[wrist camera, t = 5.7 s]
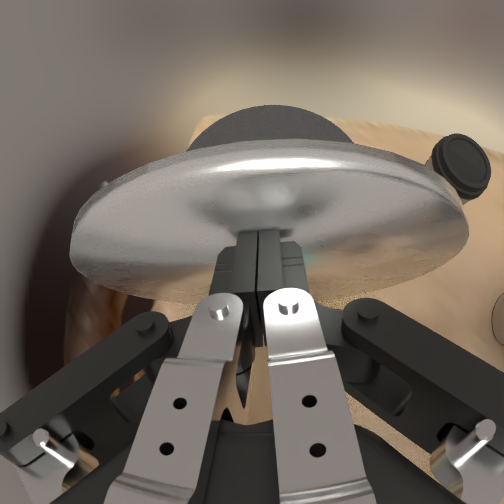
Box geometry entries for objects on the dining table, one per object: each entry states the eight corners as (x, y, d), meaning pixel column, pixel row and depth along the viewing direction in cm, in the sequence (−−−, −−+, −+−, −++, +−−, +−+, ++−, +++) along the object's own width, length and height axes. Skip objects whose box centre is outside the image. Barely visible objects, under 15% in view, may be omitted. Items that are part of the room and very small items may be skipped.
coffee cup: (435, 240, 41) (488, 206, 26) (391, 212, 42) (430, 165, 28) (450, 198, 42) (497, 155, 27) (409, 171, 43) (446, 118, 29)
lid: (168, 296, 32) (168, 328, 31) (-16, 197, 9) (-33, 273, 8) (388, 282, 29) (392, 315, 28) (545, 148, 7) (575, 230, 6)
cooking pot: (172, 300, 43) (133, 292, 32) (175, 164, 48) (147, 123, 37) (389, 286, 40) (423, 272, 28) (365, 149, 45) (383, 102, 33)
